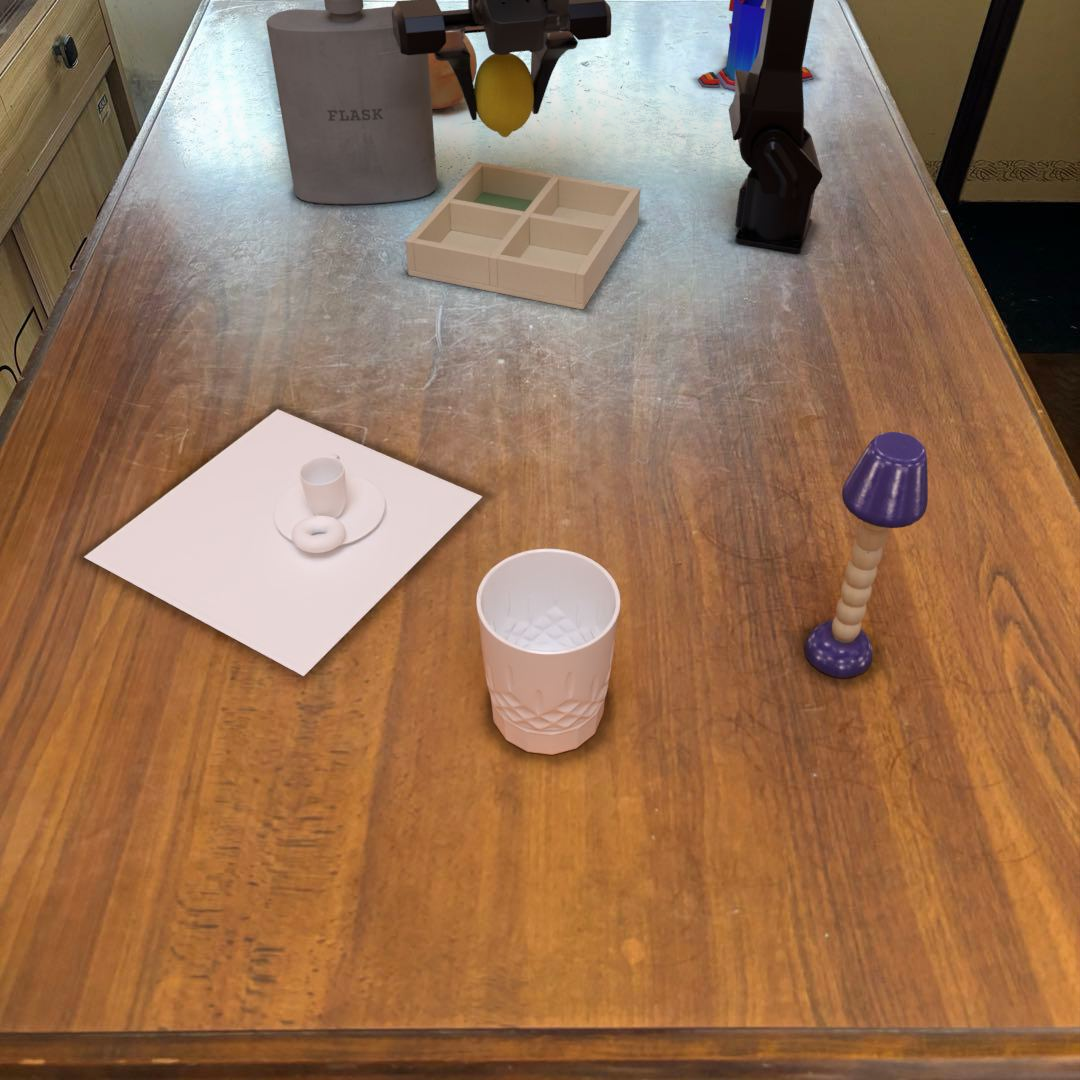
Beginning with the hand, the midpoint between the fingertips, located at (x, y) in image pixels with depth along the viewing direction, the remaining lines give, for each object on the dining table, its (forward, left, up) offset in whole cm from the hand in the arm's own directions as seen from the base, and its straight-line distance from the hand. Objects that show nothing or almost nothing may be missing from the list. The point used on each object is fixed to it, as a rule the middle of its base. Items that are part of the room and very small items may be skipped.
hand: (504, 115), depth 103 cm
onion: (+19, -25, -12) cm, 33 cm away
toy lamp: (-40, +44, -12) cm, 61 cm away
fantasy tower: (-15, -46, -12) cm, 50 cm away
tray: (-3, +3, -11) cm, 12 cm away
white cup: (-24, +55, -12) cm, 62 cm away
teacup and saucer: (-1, +46, -12) cm, 48 cm away
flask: (+17, -2, -12) cm, 20 cm away
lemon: (0, 0, -2) cm, 2 cm away
